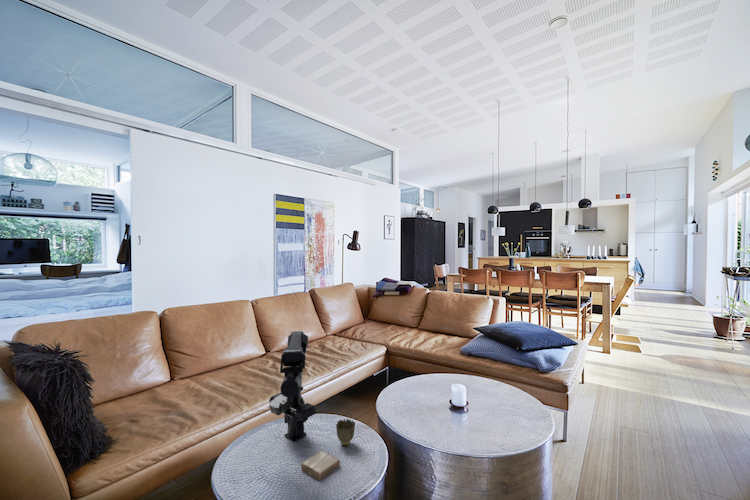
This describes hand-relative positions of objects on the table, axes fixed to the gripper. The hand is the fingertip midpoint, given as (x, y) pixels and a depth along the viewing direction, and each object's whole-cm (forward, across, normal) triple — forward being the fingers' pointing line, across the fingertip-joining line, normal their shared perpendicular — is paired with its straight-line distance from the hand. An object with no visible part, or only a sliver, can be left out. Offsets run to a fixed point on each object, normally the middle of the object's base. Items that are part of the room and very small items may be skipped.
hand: (291, 429), depth 116 cm
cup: (+12, +7, +21) cm, 25 cm away
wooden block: (+11, +5, +5) cm, 13 cm away
